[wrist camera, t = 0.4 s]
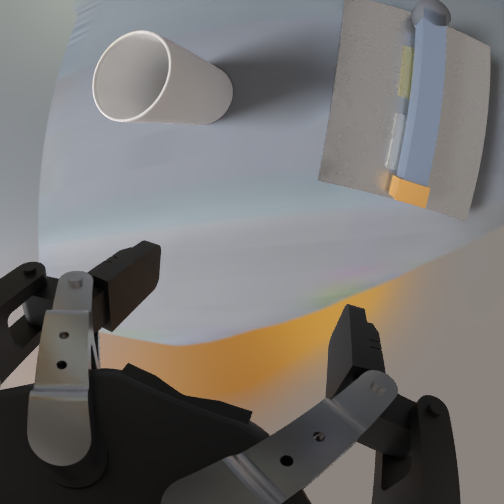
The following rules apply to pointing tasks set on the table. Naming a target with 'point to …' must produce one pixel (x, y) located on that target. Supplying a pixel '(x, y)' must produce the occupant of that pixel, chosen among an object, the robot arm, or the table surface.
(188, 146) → the table surface
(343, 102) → the chassis
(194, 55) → the cup
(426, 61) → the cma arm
